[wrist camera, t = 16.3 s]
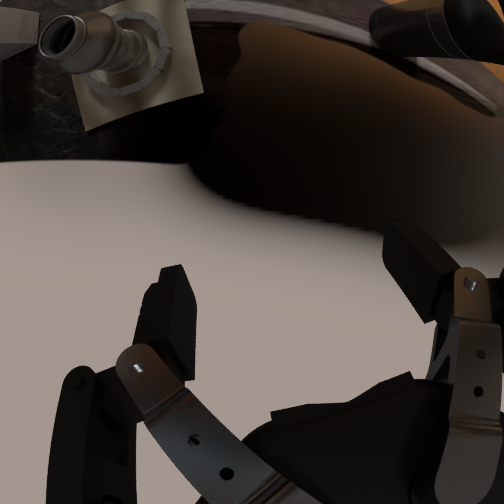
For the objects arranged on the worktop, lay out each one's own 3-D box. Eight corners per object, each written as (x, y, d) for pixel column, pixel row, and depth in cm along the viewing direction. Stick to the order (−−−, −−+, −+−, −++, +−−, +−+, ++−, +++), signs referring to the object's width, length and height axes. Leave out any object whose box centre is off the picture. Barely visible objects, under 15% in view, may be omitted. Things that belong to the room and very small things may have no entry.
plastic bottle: (160, 55, 30) (110, 30, 13) (120, 85, 31) (44, 92, 14) (137, 24, 26) (75, -17, 10) (98, 54, 27) (14, 44, 11)
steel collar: (163, 3, 25) (159, -2, 23) (179, 79, 32) (176, 78, 30) (81, 35, 25) (74, 33, 23) (97, 107, 32) (90, 109, 30)
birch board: (181, -15, 24) (180, -17, 23) (203, 92, 34) (203, 92, 33) (66, 29, 24) (63, 28, 23) (88, 130, 34) (85, 131, 33)
